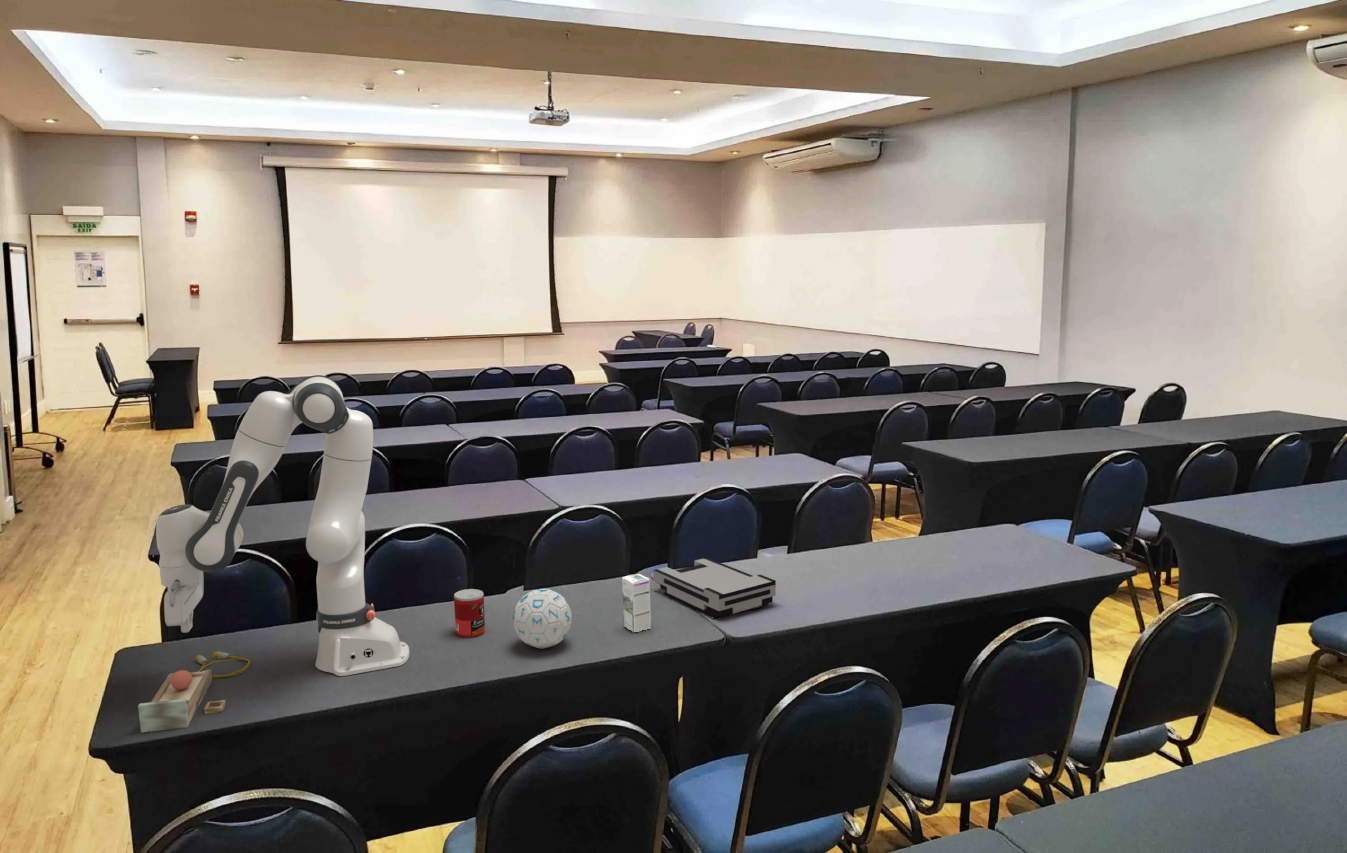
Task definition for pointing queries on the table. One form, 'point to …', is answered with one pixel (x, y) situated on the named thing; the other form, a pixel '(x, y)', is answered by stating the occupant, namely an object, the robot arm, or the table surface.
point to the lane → (174, 704)
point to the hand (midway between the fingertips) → (187, 630)
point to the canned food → (469, 612)
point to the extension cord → (221, 655)
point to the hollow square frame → (214, 707)
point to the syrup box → (636, 602)
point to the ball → (181, 679)
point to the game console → (715, 588)
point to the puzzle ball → (542, 618)
